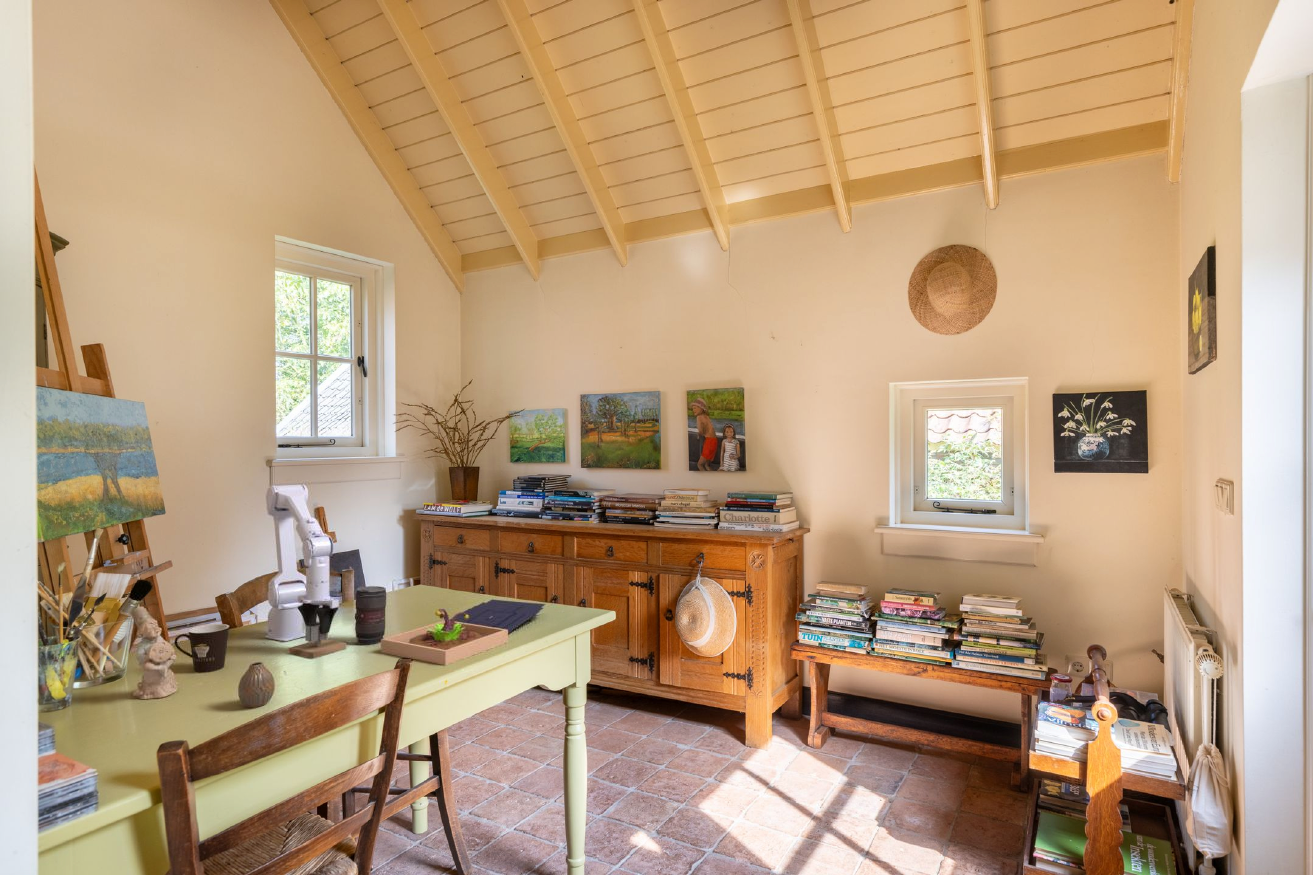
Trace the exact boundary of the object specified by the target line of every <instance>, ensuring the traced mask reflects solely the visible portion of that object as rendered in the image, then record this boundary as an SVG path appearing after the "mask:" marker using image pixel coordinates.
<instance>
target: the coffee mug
mask: <svg viewBox="0 0 1313 875" xmlns="http://www.w3.org/2000/svg"><path fill="white" fill-rule="evenodd" d="M229 630H230V625H228V624H226V623H225V624H224V623H218V624H217V623H216V624H215V623H214V624H204V625H200V626H199V625H198V626H196V627H192V628H191V629H188V634H186V633H182V634H179V635H178V636H176V637H175V639H174V646H175V648H176V649H177V650H178V651H180V652H181V653H183V654H184V655H185V656H188V657H189V658H191V659H192V664H193V665H192V666H193V671H194V673H197V674H198V673H199V674H201V673H211V672H216V671H220V670H222V669H223V668H224V667H225V661H226V653H227V646H228V639H229V638H228V637H229V632H230V631H229ZM182 637H185V638H187V639H188V640H189V644H190V651H191V653H190V652H187V651H186V650H184V649H183V648H181V646H179V645H178V640H179V638H182Z"/></svg>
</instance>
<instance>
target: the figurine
mask: <svg viewBox="0 0 1313 875" xmlns="http://www.w3.org/2000/svg"><path fill="white" fill-rule="evenodd" d="M130 615H131V617H132V619H133V621H134V622H135V625H136V626H137V631H136V636H137V637H139V638H141V641H140V642H137V650H136V655H135V656H136V657H135V658H136V660H137V661H138V666H140V667H141V669H142V670H143V672H144V673H143V674H142V675H141V682H137V685H136V687H137V688H136V689H135V690H134V691H133V693H132V696H133V697H137V698H139V699H142V700H149V699H150V700H151V699H159V698H160V699H161V698H164V697H168V696H170V695H172V694H173V693H175V692H177V690H178V685H179V683H178V682H177V681H176V680H175V676H176V675H175V673H174V672H173V671H172V670H171V668H169V667H170V666H171V665H172V664H173V663H174V662H175V661H177V659H178V657H177V655H176V653H175V651H176V650H175V648H174V646H172V645H171V644H170V643H169V642H168V641H167V640H165V639H164V638H163V636H162V635H161V634H162V628H161V627H159V624H158V620H156V619H155V618H153V616H151V615H150V613H149V612H148V611H147V609H146V608H145V607H144V606H139V607H137V608H136V609H134V610H132V611H131V612H130Z"/></svg>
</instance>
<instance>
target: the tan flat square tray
mask: <svg viewBox="0 0 1313 875" xmlns="http://www.w3.org/2000/svg"><path fill="white" fill-rule="evenodd" d="M438 623H439V624H442V625H444V623H445V620H443V621H439V622H434V623H431V624H428V625H425V626H421V627H418V628H415V629H412V630H411V629H410V630H409V631H405V632H401V633H397V634H395V635H394V634H393V635H391V636H388V637H383V639H381V642H380V653H383V654H388V655H393V656H398V657H403V658H408V659H411V660H412V659H413V660H417V661H423V662H427V663H428V662H429V663H433V664H438V665H442V666H447V665H450V664H452V663H453V664H454V663H455V662H458V661H461V660H464V659H466V658H469V657H472V656H475V655H477V654H480V653H482V652H485V651H488V650H491V649H494V648H496V647H499V646H502V645H505V644H508V643H509V633H508V630H506V629H500V628H493V627H487V626H481V625H474V624H468V623H461V622H454V625H455V624H457V623H461V626H460V629H462V628H464V629H463V631H469V630H470V632H476V633H478V634H480V635H482V636H484V637H482V638H479V639H476V640H474V641H471V642H468V643H465V644H462V645H459V646H456V647H453V648H450V649H447V650H442V649H437V648H432V647H426V646H421V645H415V644H410V643H409V642H410V639H411V638H414V637H416V636H418V635H421V634H424V633H425V634H427V631H429V630H428V629H431V630H433V631H435V632H437V631H436V630H435V629H434V628H433V626H435V627H437V624H438ZM460 629H459V630H460ZM428 633H430V632H428Z"/></svg>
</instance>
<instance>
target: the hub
mask: <svg viewBox="0 0 1313 875" xmlns="http://www.w3.org/2000/svg"><path fill="white" fill-rule="evenodd" d="M305 633H306V636H304V637H305V641H306V642H315V641H322V640H326V639H327V640H328V638H329V633H325V634H321V632H320V624H319V621H316V622H312V623H308V624H307V625H306V626H305Z"/></svg>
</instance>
